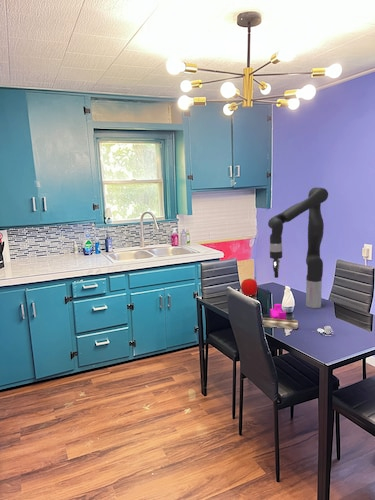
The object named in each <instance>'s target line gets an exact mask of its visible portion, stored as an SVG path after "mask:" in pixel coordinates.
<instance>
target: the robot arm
mask: <svg viewBox="0 0 375 500" xmlns="http://www.w3.org/2000/svg"><path fill="white" fill-rule="evenodd" d="M328 197H329V192H328V190H327V189H326V188H325V187H324V188H323V187H315V186H314V187H312V188H311V189H310V190H309V192H308V197H307V198H306V199H304V200H301V201H299V202H298V203H296V204H293V205H291V206H290V207H288V208H286V209H285V210H284V211H282V212H281V213H278V214H277V215H274V216H273V217H271V218H270V219H269V220H268V223H267V225H268V227H269V229H271V234H270V235H269V258H270V259H272V260H273V261H272V269H273V273H274V275H273V276H274V279H275V278H277V279H278V278H279V272H280V263H281V262H280V261H281V260H280V259H282V258H283V243H282V242H283V241H282V239H283V237H282V235H283V230H284V223H285V224H286V223H289V222H291V221H293V220H294V219H295V218H297V217H299V216H300V215H301V214H303V213H305V212H306V211H308V222H307V223H308V224H307V253H306V257H305V258H306V259H305V264H306V266H307V273H306V282H305V283H306V284H305V285H306V288H305V295H306V296H305V306H306V307H308V308H312V309H317V308H318V309H319V308H320V309H321V308H322V282H323V281H322V280H323V273H324V271H323V270H324V262H323V259H322V257H321V244H322V242H323V238H324V226H325V225H324V224H325V223H324V219H323V215H322V210H321V204H322V203H324V202H326V201H327V200H328Z"/></svg>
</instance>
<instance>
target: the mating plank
mask: <svg viewBox="0 0 375 500" xmlns="http://www.w3.org/2000/svg"><path fill="white" fill-rule="evenodd" d="M262 318H263V324H264V327H265V328H272V327H277V328H276V329H283V328H289V329H288V330H293V329H297V328H299V321H298V320H295V319H294V320H293V319H286V320H284V319H273V318H271V317H270V318H269V317H262ZM264 327H263V328H264ZM297 330H298V329H297Z"/></svg>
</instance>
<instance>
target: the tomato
mask: <svg viewBox="0 0 375 500" xmlns="http://www.w3.org/2000/svg"><path fill="white" fill-rule="evenodd" d="M240 289H241V292H242V293H243V295H245V296H246V295H247V297H251V296H250V295H254V296H255V295H256V294H257V292H258V283H257V281H256V280H255V279H252V278H246V279H243V281H241V285H240ZM248 295H249V296H248Z"/></svg>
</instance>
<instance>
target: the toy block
mask: <svg viewBox="0 0 375 500" xmlns="http://www.w3.org/2000/svg"><path fill="white" fill-rule="evenodd" d="M269 316H270V318H273V319H284V320H287V312H286V311H283V310H282V304H281V303H274V304H273V308H269Z"/></svg>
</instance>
